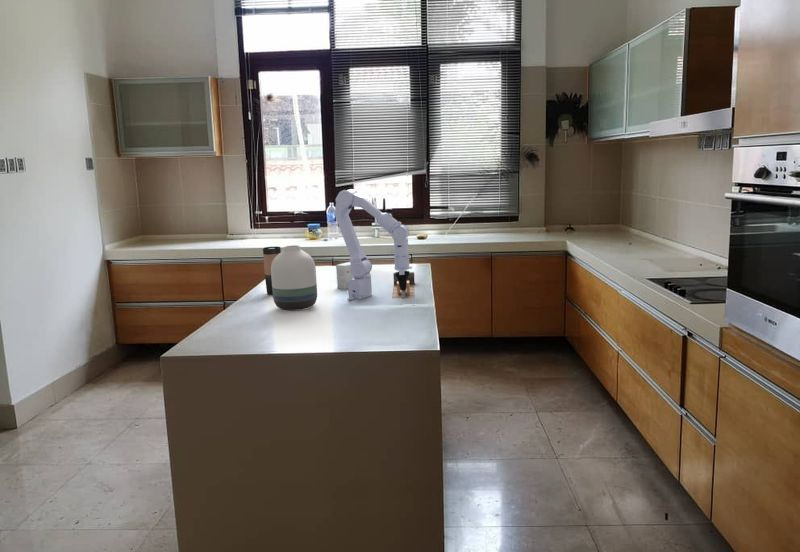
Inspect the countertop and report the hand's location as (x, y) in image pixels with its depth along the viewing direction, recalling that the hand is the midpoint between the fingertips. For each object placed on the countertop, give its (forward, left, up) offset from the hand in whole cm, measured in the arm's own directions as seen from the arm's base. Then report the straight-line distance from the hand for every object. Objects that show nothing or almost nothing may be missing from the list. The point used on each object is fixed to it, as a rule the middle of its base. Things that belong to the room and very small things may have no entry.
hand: (403, 289), depth 256 cm
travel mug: (-14, +59, -4) cm, 60 cm away
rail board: (+9, +6, -4) cm, 12 cm away
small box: (+10, +38, -4) cm, 39 cm away
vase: (-31, +29, -4) cm, 43 cm away
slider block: (+4, +3, -2) cm, 6 cm away
